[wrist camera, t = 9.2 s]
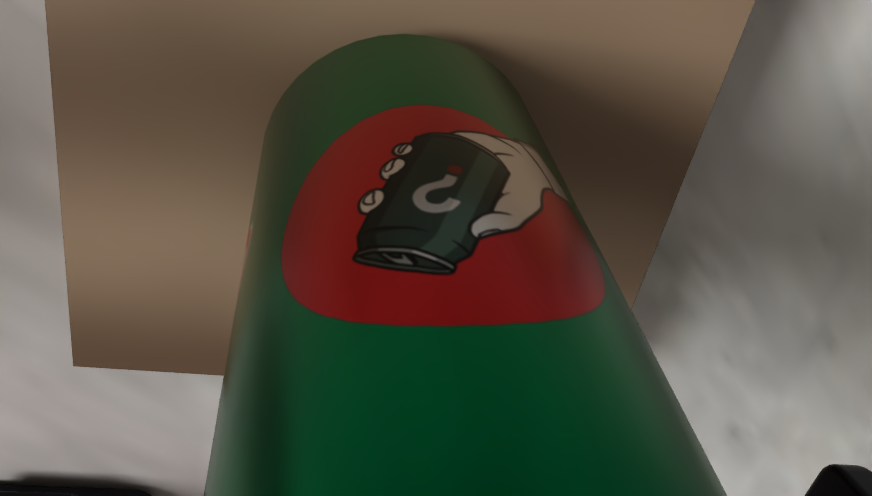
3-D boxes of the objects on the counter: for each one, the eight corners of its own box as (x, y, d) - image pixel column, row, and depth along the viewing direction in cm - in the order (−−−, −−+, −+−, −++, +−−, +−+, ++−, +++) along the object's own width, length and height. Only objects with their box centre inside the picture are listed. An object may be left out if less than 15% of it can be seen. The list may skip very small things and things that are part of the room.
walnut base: (569, 333, 21) (595, 398, 19) (101, 296, 19) (73, 365, 17) (742, -152, 15) (809, -134, 13) (72, -298, 13) (21, -303, 10)
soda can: (205, 129, 14) (-95, 1066, 4) (435, -38, 13) (772, 714, 3) (370, 302, 17) (426, 1138, 7) (575, 176, 16) (1004, 961, 6)
